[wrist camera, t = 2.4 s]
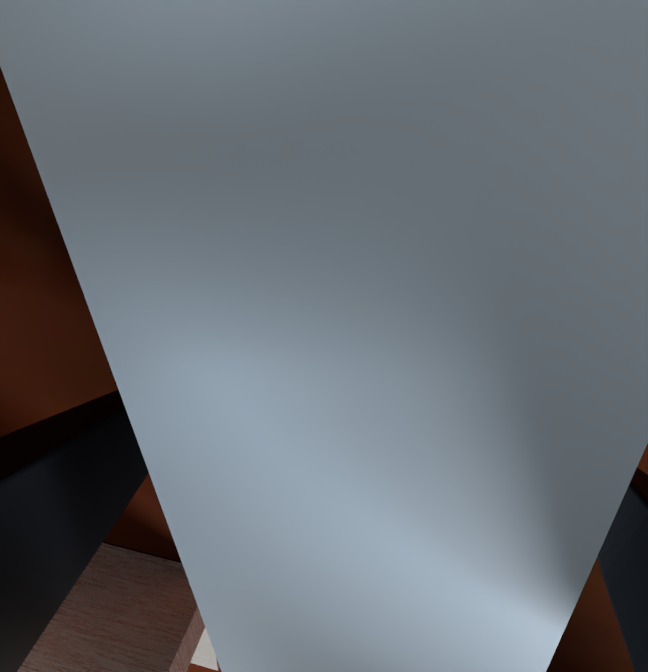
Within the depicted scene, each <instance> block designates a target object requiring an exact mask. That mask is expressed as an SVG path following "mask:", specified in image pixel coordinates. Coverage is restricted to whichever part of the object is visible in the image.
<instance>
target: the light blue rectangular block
mask: <svg viewBox="0 0 648 672" xmlns="http://www.w3.org/2000/svg"><path fill="white" fill-rule="evenodd" d="M0 67H1V70H2V72H3V75H4V78H5V81H6V83H7V86H8V89H9V91H10V94H11V97H12V100H13V102H14V105H15V108H16V111H17V113H18V116H19V119H20V122H21V124H22V127H23V130H24V132H25V135H26V138H27V141H28V143H29V146H30V149H31V152H32V154H33V157H34V160H35V163H36V165H37V168H38V171H39V174H40V176H41V179H42V182H43V184H44V187H45V190H46V193H47V195H48V198H49V201H50V204H51V206H52V209H53V212H54V215H55V217H56V220H57V223H58V225H59V228H60V231H61V234H62V236H63V239H64V242H65V245H66V247H67V250H68V253H69V256H70V258H71V261H72V264H73V266H74V269H75V272H76V275H77V277H78V280H79V283H80V286H81V288H82V291H83V294H84V297H85V299H86V302H87V305H88V307H89V310H90V313H91V316H92V318H93V321H94V324H95V327H96V329H97V332H98V335H99V338H100V340H101V343H102V346H103V348H104V351H105V354H106V357H107V359H108V362H109V365H110V368H111V370H112V373H113V376H114V379H115V381H116V384H117V387H118V389H119V392H120V395H121V398H122V400H123V403H124V406H125V409H126V411H127V414H128V417H129V420H130V422H131V425H132V428H133V430H134V433H135V436H136V439H137V441H138V444H139V447H140V450H141V452H142V455H143V458H144V461H145V463H146V466H147V469H148V471H149V474H150V477H151V480H152V482H153V485H154V488H155V491H156V493H157V496H158V499H159V502H160V504H161V507H162V510H163V512H164V515H165V518H166V521H167V523H168V526H169V529H170V532H171V534H172V537H173V540H174V543H175V545H176V548H177V551H178V553H179V556H180V559H181V562H182V564H183V567H184V570H185V573H186V575H187V578H188V581H189V584H190V586H191V589H192V592H193V594H194V597H195V600H196V603H197V605H198V608H199V611H200V614H201V616H202V619H203V622H204V625H205V627H206V630H207V633H208V635H209V638H210V641H211V644H212V646H213V649H214V652H215V655H216V657H217V660H218V663H219V666H220V668H221V671H222V672H546V671H547V668H548V666H549V664H550V662H551V659H552V657H553V655H554V653H555V650H556V648H557V646H558V644H559V641H560V639H561V637H562V635H563V632H564V630H565V628H566V626H567V623H568V621H569V619H570V617H571V614H572V612H573V610H574V608H575V605H576V603H577V601H578V599H579V596H580V594H581V592H582V590H583V587H584V585H585V583H586V581H587V578H588V576H589V574H590V572H591V569H592V567H593V565H594V563H595V560H596V558H597V556H598V554H599V551H600V549H601V547H602V545H603V542H604V540H605V538H606V536H607V533H608V531H609V529H610V527H611V524H612V522H613V520H614V518H615V515H616V513H617V511H618V509H619V506H620V504H621V502H622V500H623V497H624V495H625V493H626V491H627V488H628V486H629V484H630V482H631V479H632V477H633V475H634V473H635V470H636V468H637V466H638V464H639V461H640V459H641V457H642V455H643V452H644V450H645V448H646V446H647V443H648V0H0Z"/></svg>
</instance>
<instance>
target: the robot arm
mask: <svg viewBox="0 0 648 672" xmlns="http://www.w3.org/2000/svg"><path fill="white" fill-rule="evenodd" d="M148 473H149V471H148V469H147V466H146V463H145V461H144V458H143V455H142V452H141V450H140V447H139V444H138V441H137V439H136V436H135V433H134V430H133V428H132V425H131V422H130V420H129V417H128V414H127V411H126V409H125V406H124V403H123V400H122V398H121V395H120V392H119V390H116V391H114V392H111V393H109V394H106V395H104V396H101V397H99V398H96V399H94V400H91V401H89V402H86V403H84V404H81V405H79V406H76V407H74V408H71V409H69V410H66V411H64V412H61V413H59V414H56V415H54V416H51V417H49V418H46V419H44V420H41V421H39V422H36V423H34V424H31V425H29V426H26V427H24V428H21V429H19V430H16V431H14V432H11V433H9V434H6V435H4V436H1V437H0V672H17V671H18V670H19V668H20V667H21V665H22V664H23V662H24V661H25V659H26V658H27V656H28V654H29V653H30V651H31V650H32V648H33V647H34V645H35V644H36V642H37V641H38V639H39V638H40V636H41V635H42V633H43V632H44V630H45V629H46V627H47V626H48V624H49V623H50V621H51V620H52V618H53V617H54V615H55V614H56V612H57V611H58V609H59V608H60V606H61V605H62V603H63V602H64V600H65V599H66V597H67V596H68V594H69V593H70V591H71V589H72V588H73V586H74V585H75V583H76V582H77V580H78V579H79V577H80V576H81V574H82V573H83V571H84V570H85V568H86V567H87V565H88V564H89V562H90V561H91V559H92V558H93V556H94V555H95V553H96V552H97V550H98V549H99V547H100V546H101V544H102V543H103V541H104V540H105V538H106V537H107V535H108V534H109V532H110V531H111V529H112V527H113V526H114V524H115V523H116V521H117V520H118V518H119V517H120V515H121V514H122V512H123V511H124V509H125V508H126V506H127V505H128V503H129V502H130V500H131V499H132V497H133V496H134V494H135V493H136V491H137V490H138V488H139V487H140V485H141V484H142V482H143V481H144V479H145V477H146V476H147V474H148ZM598 560H599V564H600V567H601V571H602V575H603V578H604V581H605V585H606V588H607V591H608V594H609V597H610V600H611V603H612V606H613V609H614V612H615V615H616V617H617V620H618V623H619V626H620V629H621V632H622V635H623V638H624V641H625V644H626V647H627V650H628V653H629V656H630V659H631V662H632V665H633V668H634V671H635V672H648V475H647V474H646V473H644V472H643V471H642V470H640V469H639V468H638V467H637V468H636V470H635V473H634V475H633V477H632V479H631V482H630V484H629V486H628V488H627V491H626V493H625V495H624V497H623V500H622V502H621V504H620V506H619V509H618V511H617V513H616V515H615V518H614V520H613V522H612V524H611V527H610V529H609V531H608V533H607V536H606V538H605V540H604V542H603V545H602V547H601V549H600V551H599V554H598Z"/></svg>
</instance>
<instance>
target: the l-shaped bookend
mask: <svg viewBox="0 0 648 672" xmlns="http://www.w3.org/2000/svg"><path fill="white" fill-rule="evenodd" d="M190 663H193V664H197V665H200V666H203V667H207V668H210V669H214V670H217V671H218V670H219V667H220V666H219V663H218V660H217V657H216V655H215V652H214V649H213V646H212V644H211V641H210V638H209V635H208V633H207V630H206V627H205V625H204V622H203V619H202V616H201V614H200V611H199V608H198V605H197V603H196V600H195V597H194V594H193V592H192V589H191V586H190V584H189V581H188V578H187V575H186V573H185V570H184V567H183V564H182V563H179V562H175V561H171V560H167V559H164V558H160V557H156V556H152V555H148V554H144V553H140V552H136V551H133V550H129V549H125V548H121V547H117V546H113V545H109V544H105V543H102V544H101V546H100V547H99V549H98V550H97V552H96V553H95V555H94V556H93V558H92V559H91V561H90V562H89V564H88V565H87V567H86V568H85V570H84V571H83V573H82V574H81V576H80V577H79V579H78V580H77V582H76V583H75V585H74V586H73V588H72V589H71V591H70V593H69V594H68V596H67V597H66V599H65V600H64V602H63V603H62V605H61V606H60V608H59V609H58V611H57V612H56V614H55V615H54V617H53V618H52V620H51V621H50V623H49V624H48V626H47V627H46V629H45V630H44V632H43V633H42V635H41V636H40V638H39V639H38V641H37V642H36V644H35V645H34V647H33V648H32V650H31V651H30V653H29V654H28V656H27V658H26V659H25V661H24V662H23V664H22V665H21V667H20V668H19V670H18V671H17V672H187V669H188V667H189V664H190Z"/></svg>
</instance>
